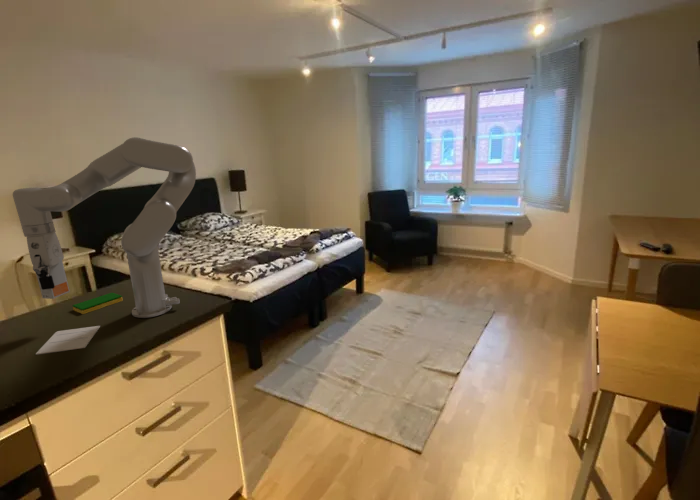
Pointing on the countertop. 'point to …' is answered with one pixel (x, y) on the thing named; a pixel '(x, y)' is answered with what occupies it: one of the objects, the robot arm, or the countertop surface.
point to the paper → (69, 340)
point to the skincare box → (56, 282)
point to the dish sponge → (97, 303)
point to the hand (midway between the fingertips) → (53, 283)
